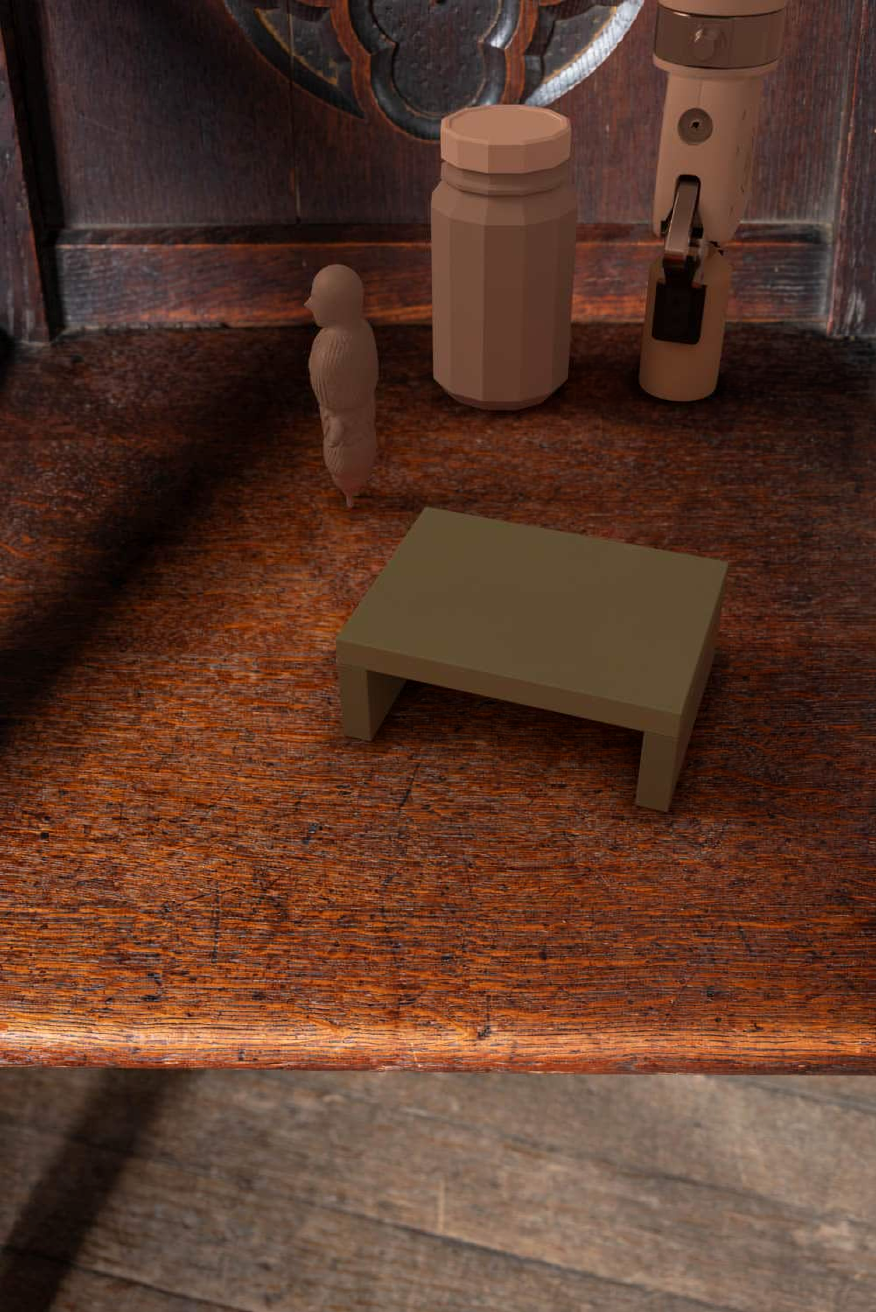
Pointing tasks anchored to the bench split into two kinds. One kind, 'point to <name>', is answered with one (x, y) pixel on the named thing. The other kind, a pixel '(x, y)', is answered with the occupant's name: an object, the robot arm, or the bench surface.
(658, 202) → the robot arm
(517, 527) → the shelf
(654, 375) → the candle
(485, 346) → the jar
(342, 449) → the figurine
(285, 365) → the bench surface
